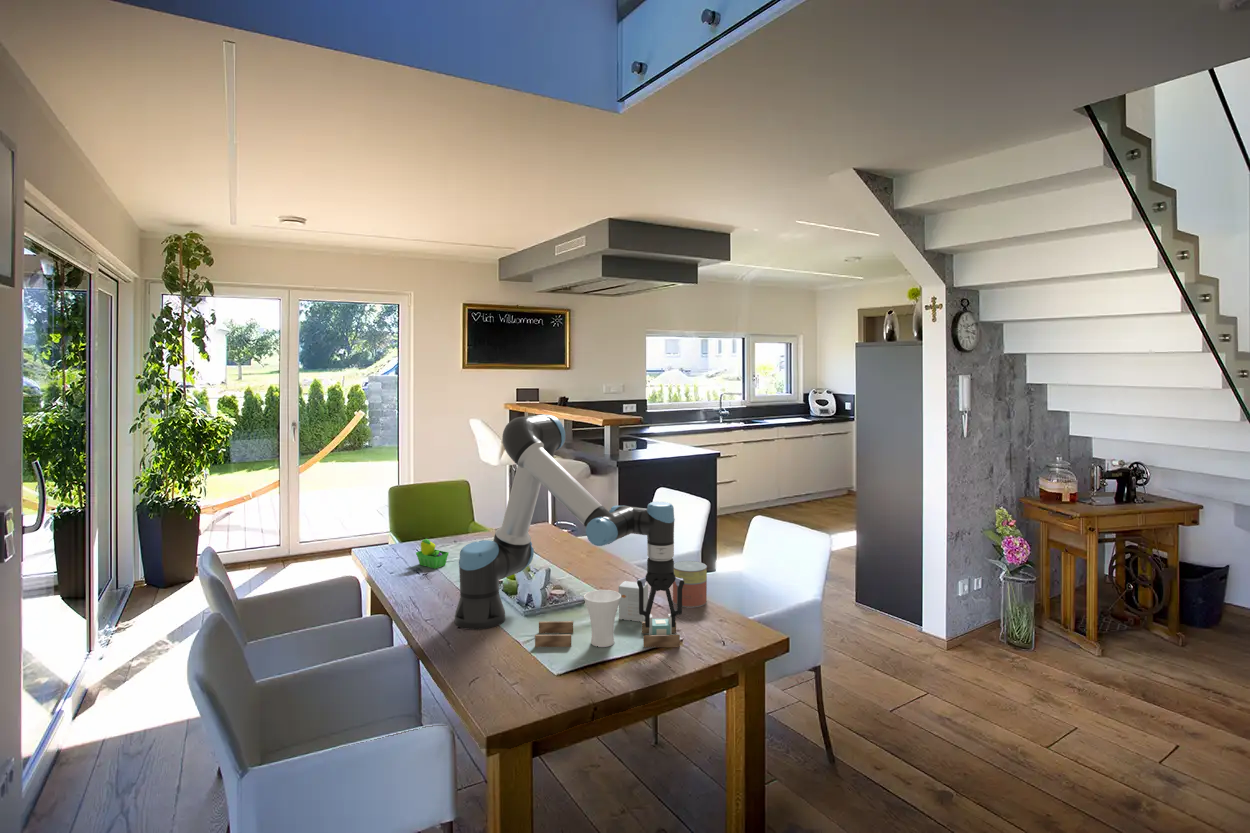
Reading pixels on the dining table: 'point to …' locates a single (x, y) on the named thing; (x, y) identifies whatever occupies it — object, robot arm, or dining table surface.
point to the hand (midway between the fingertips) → (660, 637)
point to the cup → (602, 615)
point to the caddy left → (554, 639)
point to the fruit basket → (431, 555)
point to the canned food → (691, 583)
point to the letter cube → (660, 627)
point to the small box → (631, 601)
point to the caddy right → (660, 639)
